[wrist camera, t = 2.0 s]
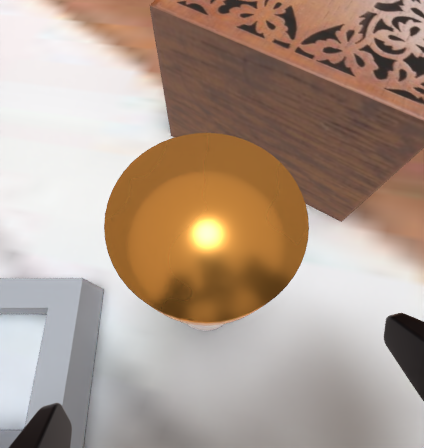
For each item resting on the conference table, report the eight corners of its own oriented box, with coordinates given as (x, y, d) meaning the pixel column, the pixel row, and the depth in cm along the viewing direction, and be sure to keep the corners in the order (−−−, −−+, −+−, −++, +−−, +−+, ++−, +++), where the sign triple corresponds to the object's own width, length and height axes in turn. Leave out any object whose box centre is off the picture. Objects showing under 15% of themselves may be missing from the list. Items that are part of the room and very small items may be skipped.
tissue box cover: (339, 223, 21) (444, 129, 12) (171, 137, 24) (149, 5, 14) (432, 20, 30) (534, -127, 20) (301, -27, 32) (340, -176, 23)
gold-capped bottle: (243, 335, 18) (322, 320, 6) (167, 336, 18) (89, 322, 6) (240, 262, 20) (296, 133, 8) (171, 261, 20) (117, 131, 8)
